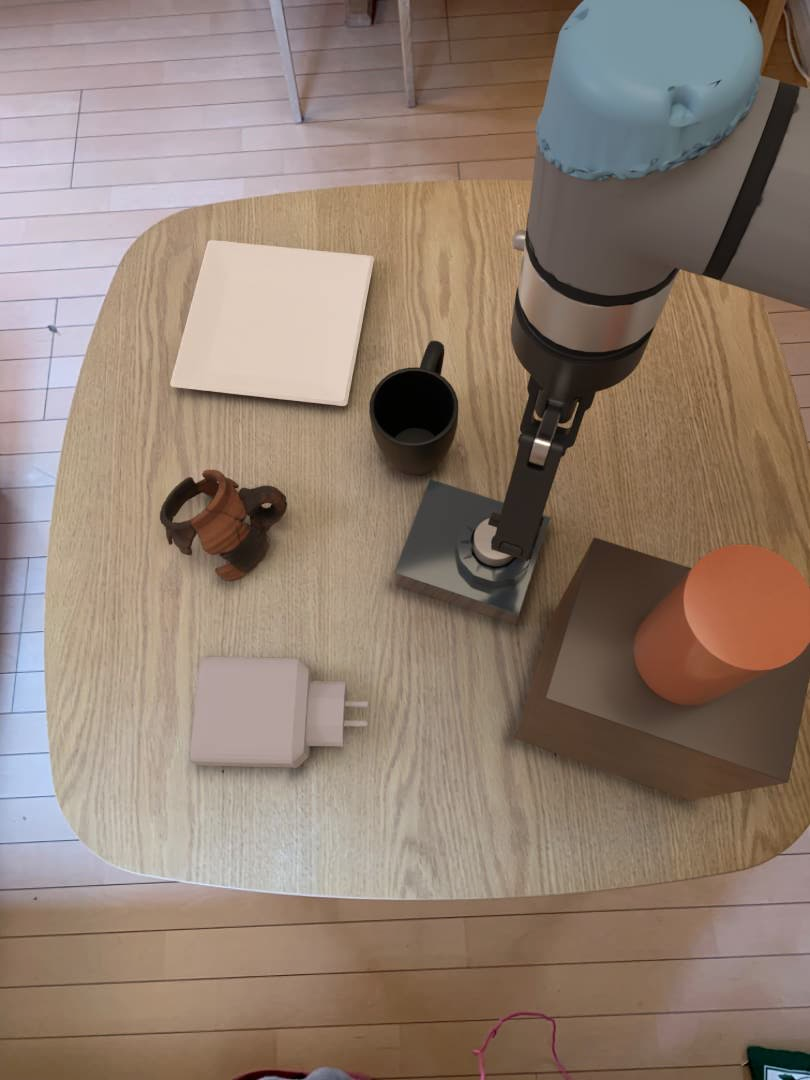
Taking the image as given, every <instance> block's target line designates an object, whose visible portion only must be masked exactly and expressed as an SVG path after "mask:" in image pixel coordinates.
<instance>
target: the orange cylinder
mask: <svg viewBox="0 0 810 1080" xmlns="http://www.w3.org/2000/svg"><path fill="white" fill-rule="evenodd" d="M691 568H692V569H691V570H690V571H689V572H688V573H687V574H686V575H685V576H684V577H683V578H682V579H681V580H680V581H679V582H678V583H677V584H676V586H675V587H674V588H673V589H672V590H671V591H670V592H669V593H668V594H667V595H666V596H665V597H664V598H663V599H662V600H661V602H660V603H659V604H658V605H657V606H656V607H655V608H654V609H653V610H652V611H651V612H650V613H649V614H648V615H647V616H646V618H645V619H644V620H643V621H642V623H641V624H640V626H639V628H638V630H637V632H636V635H635V639H634V647H633V651H634V659H635V663H636V666H637V669H638V671H639V673H640V675H641V677H642V678H643V680H644V681H645V683H646V684H647V685H648V686H649V687H650V688H651V689H652V690H653V691H654V692H655V693H656V694H658V695H659V696H661V697H662V698H664V699H666V700H668V701H670V702H673V703H676V704H679V705H685V706H699V705H705V704H708V703H711V702H713V701H716V700H718V699H719V698H721V697H723V696H725V695H727V694H729V693H731V692H733V691H735V690H737V689H739V688H741V687H743V686H745V685H747V684H749V683H751V682H753V681H755V680H757V679H758V678H760V677H762V676H764V675H766V674H768V673H770V672H772V671H774V670H776V669H778V668H780V667H782V666H784V665H786V664H788V663H789V662H791V661H793V660H794V659H795V658H797V657H798V656H799V655H800V654H801V653H802V652H803V651H804V650H805V648H806V647H807V645H808V644H809V642H810V585H809V583H808V581H807V579H806V578H805V576H804V574H802V573H801V571H800V570H799V569H798V568H797V567H796V566H795V565H794V564H793V563H791V561H789V560H788V559H787V558H785V557H784V556H782V555H781V554H779V553H778V552H775V551H773V550H771V549H768V548H766V547H763V546H758V545H755V544H747V543H740V544H739V543H736V544H728V545H724V546H721V547H718V548H716V549H713V550H711V551H709V552H708V553H706V554H705V555H704V556H702V557H701V558H700V559H699V560H698V561H697V562H696V563H695V564H694V565H693V566H692V567H691Z"/></svg>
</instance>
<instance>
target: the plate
mask: <svg viewBox="0 0 810 1080" xmlns="http://www.w3.org/2000/svg"><path fill="white" fill-rule="evenodd" d="M374 263H375V257H374V256H373V255H370V254H369V255H368V254H358V253H347V252H337V251H328V250H327V251H326V250H317V249H307V248H297V247H287V246H277V245H266V244H256V243H247V242H237V241H225V240H216V239H209V240H208V241H207V243H206V246H205V251H204V253H203V258H202V261H201V266H200V269H199V273H198V277H197V281H196V284H195V289H194V292H193V297H192V300H191V304H190V307H189V310H188V314H187V318H186V322H185V325H184V330H183V334H182V337H181V340H180V345H179V348H178V352H177V355H176V361H175V364H174V367H173V371H172V374H171V378H170V383H169V385H170V387H171V388H178V389H189V390H197V391H206V392H215V393H223V394H231V395H240V396H250V397H259V398H269V399H276V400H277V399H278V400H286V401H295V402H303V403H314V404H323V405H330V406H331V405H332V406H341V407H345V406H347V405H348V403H349V396H350V391H351V386H352V380H353V374H354V370H355V365H356V359H357V354H358V348H359V342H360V338H361V332H362V326H363V321H364V316H365V310H366V305H367V301H368V293H369V288H370V284H371V277H372V273H373V267H374Z"/></svg>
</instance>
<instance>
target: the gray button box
mask: <svg viewBox="0 0 810 1080" xmlns="http://www.w3.org/2000/svg"><path fill="white" fill-rule="evenodd" d="M503 504H504V501H501V500H497V499H494V498H490V497H489V496H484V495H483V494H482V495H481V494H478V493H475V492H471V491H469V490H466V489H463V488H460V487H456V486H453V485H450V484H447V483H443V482H440V481H437V480H435V479H431V478H430V479H429V480H428V483H427V485H426V487H425V491H424V493H423V496H422V498H421V501H420V504H419V506H418V510H417V512H416V515H415V516H414V520H413V522H412V524H411V528H410V530H409V533H408V536H407V538H406V540H405V544H404V546H403V548H402V551H401V554H400V556H399V558H398V562H397V564H396V567H395V570H394V572H393V574H394V581H395V586H396V587H400V588H403V589H405V590H407V591H411V592H413V593H418V594H420V595H422V596H426V597H429V598H432V599H435V600H437V601H441V602H443V603H447V604H449V605H452V606H456V607H459V608H462V609H464V610H467V611H470V612H474V613H476V614H480V615H482V616H486V617H488V618H491V619H495V620H497V621H501V622H503V623H506V624H509V625H512V626H516V624H517V621H518V619H519V617H520V614H521V610H522V608H523V604H524V601H525V599H526V596H527V592H528V589H529V586H530V583H531V581H532V576H533V573H534V571H535V568H536V565H537V561H538V558H539V555H540V552H541V549H542V545H543V544H544V540H545V537H546V534H547V530H548V527H549V524H550V521H551V517H550V516H547V515H545V514H543V515H542V517H544V519H543V523H542V526H541V529H540V532H539V535H538V538H537V541H536V544H535V548H534V551H533V554H532V557H531V560H530V559H529V560H528V561H526V560H523V559H519V558H516V557H514V558H513V559H512V560H511V561H510V562H509V563H507V564H505V565H503V566H497V567H494V566H489V565H486V564H484V563H482V562H481V561H480V560H479V559H478V558H477V557H476V555H475V553H474V550H473V540H474V533H475V530H476V528H477V527H478V525H479V524H480V523H481V522H483V521H484V520H486V519H489V518H490V517H491V514H492V512H494V513H497V514H500V515H501V511H502V508H503Z"/></svg>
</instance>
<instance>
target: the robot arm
mask: <svg viewBox="0 0 810 1080" xmlns="http://www.w3.org/2000/svg"><path fill="white" fill-rule="evenodd" d="M763 58H764V42H763V38H762V34H761V31H760V28H759V25H758V23H757V20H756V18H755V17H754V15H753V13H752V12H751V11H750V9H749V8H748V7H747V5H746V4H744V3H743V2H742V1H741V0H582V1H581V2H580V3H579V4H578V6H576V8H575V9H574V10H573V12H572V13H571V14H570V15H569V17H568V18H567V20H566V21H565V22H564V24H563V25H562V27H561V29H560V31H559V33H558V37H557V41H556V45H555V50H554V56H553V60H552V64H551V70H550V74H549V79H548V84H547V89H546V92H545V97H544V103H543V107H542V109H541V112H540V114H539V115H538V117H537V119H536V126H535V134H536V147H535V157H534V164H533V173H532V181H531V190H530V197H529V198H530V199H529V206H528V207H529V208H528V213H527V217H526V218H527V219H526V228H525V230H523V229H517V230H515V232H514V235H513V237H512V239H511V246H512V248H513V249H515V250H517V251H520V252H523V255H522V257H521V258H522V259H521V262H520V263H521V264H520V268H519V275H518V276H519V277H518V284H517V287H516V291H515V297H514V304H513V311H512V316H511V317H512V318H511V326H510V340H511V345H512V348H513V351H514V355H515V356H516V358H517V360H518V361H519V363H520V364H521V366H522V367H523V368H524V370H525V371H526V372H527V373H528V374H529V375H530V376H529V379H528V381H527V382H528V383H527V386H526V390H527V393H528V398H527V401H526V405H525V409H524V411H523V415H522V419H521V422H520V425H519V432H520V434H519V436H518V439H517V443H518V447H517V451H516V456H515V460H514V464H513V467H512V472H511V476H510V479H509V482H508V483H509V484H508V487H507V489H506V493H505V497H504V501H503V502H504V504H503V508H502V511H501V515H500V514H497V513H494V512H492V514H491V517H490V519H489V522H488V525H491V526H494V527H497V530H496V533H495V536H493V538H492V541H491V544H492V545H491V549H492V550H495V551H498V552H501V553H504V554H507V555H510V556H513V557H516V558H519V559H523V560H526V561H528V560H529V559H530V560H531V557H532V554H533V551H534V548H535V544H536V541H537V538H538V535H539V532H540V529H541V526H542V523H543V519H544V517H542V515H544V512H545V508H546V505H547V503H548V499H549V496H550V493H551V490H552V487H553V484H554V481H555V477H556V475H557V472H558V469H559V465H560V462H561V459H562V458H563V457H565V455H566V453H567V449H571V448H572V447H573V446H574V445H575V443H576V440H577V437H578V434H579V430H580V428H581V425H582V422H583V419H584V416H585V413H586V412H587V411H588V410H589V409H591V407H592V405H593V402H594V399H595V397H596V393H597V392H601V391H605V390H607V389H610V388H612V387H614V386H616V385H618V384H619V383H621V382H622V381H624V380H625V379H627V378H628V377H629V376H630V375H631V374H632V373H633V372H634V371H635V370H636V369H637V367H638V366H639V364H640V362H641V361H642V358H643V356H644V354H645V351H646V349H647V347H648V345H649V342H650V339H651V337H652V335H653V333H654V329H655V327H656V324H657V322H658V320H659V319H660V317H661V315H662V313H663V311H664V309H665V307H666V304H667V302H668V299H669V297H670V295H671V292H672V289H673V287H674V284H675V282H676V280H677V277H678V275H679V273H680V270H682V271H684V272H687V273H691V274H693V275H697V276H703V277H706V278H710V279H713V280H716V281H719V282H720V283H721V282H722V283H724V284H726V285H730V286H733V287H737V288H740V289H742V290H745V291H750V292H753V293H755V294H759V295H762V296H766V297H769V298H772V299H775V300H779V301H781V302H784V303H788V304H790V305H794V306H797V307H800V308H803V309H805V310H806V309H807V310H809V311H810V88H809V87H805V86H801V85H795V84H792V83H787V82H785V81H780V79H777V78H771V77H768V76H766V75H765V76H764V75H761V67H762V65H763V64H762V63H763V60H764V59H763ZM535 414H536V415H537V417H538V418H540V419H541V420H540V419H537V418H536V417H535V416H534V415H535ZM573 415H574V417H573ZM572 418H573V420H572V423H571V425H570V427H563V426H560V425H564V424H567V423H568V422H570V421H571V419H572Z"/></svg>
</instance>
